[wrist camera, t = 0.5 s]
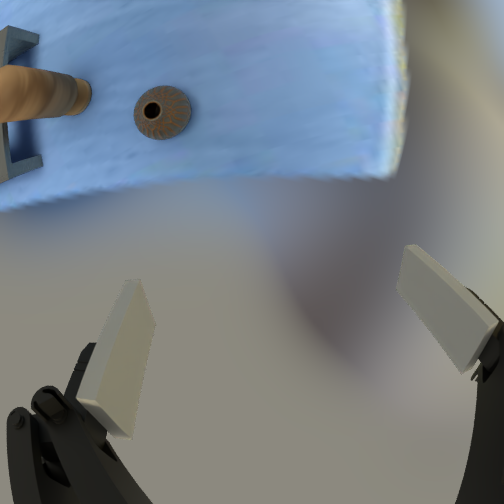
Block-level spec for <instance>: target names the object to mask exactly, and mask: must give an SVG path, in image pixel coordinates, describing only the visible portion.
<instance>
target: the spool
mask: <svg viewBox="0 0 504 504" xmlns="http://www.w3.org/2000/svg"><path fill="white" fill-rule="evenodd" d="M91 95H92V90H91V86H90V84H89V83H88V82H87V81H85V80H82V79H77V78H73V77H72V76H70V75H67V74H62V73H57V72H52V71H47V70H41V69H36V68H29V67H23V66H15V65H5V66H3V67H1V68H0V123H5V122H12V121H20V120H29V119H40V118H54V117H61V116H63V115H77V114H80V113H81V112H83V111H84V110H85V109H86V107H87V106H88V104H89V102H90V100H91Z"/></svg>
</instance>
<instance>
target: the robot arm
mask: <svg viewBox="0 0 504 504" xmlns="http://www.w3.org/2000/svg"><path fill="white" fill-rule="evenodd" d="M396 290H397V292H398V293H399V294H400V295H401V296H402V298H403V299H404V300H405V301H406V302H407V303H408V305H409V306H410V307H411V308H412V310H413V311H414V312H415V313H416V314H417V316H418V317H419V318H420V319H421V321H422V322H423V323H424V324H425V326H426V327H427V328H428V330H429V331H430V332H431V333H432V335H433V336H434V337H435V339H436V340H437V341H438V343H439V344H440V345H441V347H442V348H443V349H444V351H445V352H446V353H447V355H448V356H449V358H450V359H451V360H452V362H453V363H454V365H455V366H456V368H457V369H458V370H459V372H460V373H461V374H463V373H464V372H466V371H468V370H470V369H472V367H473V366H474V364H475V363H476V361H477V359H479V360H480V362H481V363H480V365H479V366H478V368H477V369H476V371H475V372H474V374H473V375H472V377H471V380H473V379H474V378H475V376H476V375H478V377H477V378H476V380H475V381H477V382H478V385H477V401H476V411H475V420H474V428H473V434H472V440H471V446H470V451H469V456H468V460H467V465H466V469H465V473H464V477H463V480H462V484H461V487H460V490H459V494H458V497H457V500H456V502H455V504H504V322H503V321H502V320H501V319H500V318H499V317H498V316H497V315H496V314H495V313H494V312H493V311H492V310H491V309H490V308H489V307H488V306H487V305H486V304H484V302H483V301H482V300H481V299H479V297H478V296H477V295H476V294H475V293H474V292H473V291H471V290H470V289H468V288H466V287H465V286H463V285H462V284H461V283H460V282H459V281H458V280H457V279H456V278H455V277H453V276H452V275H451V274H450V273H449V272H448V271H447V270H446V269H445V268H443V267H442V266H441V265H440V264H439V263H438V262H436V261H435V260H434V259H433V258H431V257H430V256H429V255H428V254H427V253H426V252H424V251H423V250H422V249H421V248H420V247H418V246H417V245H416V244H415V245H408V246H405V249H404V254H403V259H402V264H401V269H400V274H399V278H398V283H397V287H396ZM155 326H156V323H155V320H154V317H153V314H152V312H151V309H150V306H149V303H148V301H147V298H146V295H145V292H144V289H143V286H142V283H141V280H140V279H135V280H126V281H125V283H124V285H123V287H122V289H121V291H120V293H119V295H118V297H117V299H116V301H115V303H114V305H113V308H112V310H111V312H110V314H109V316H108V319H107V320H106V323H105V325H104V327H103V329H102V332H101V334H100V336H99V339H98V341H97V343H89V344H88V345H87V346H86V347H85V349H83V351H82V352H81V354H80V356H79V359H78V363H77V364H76V366H75V368H74V371H73V373H72V376H71V378H70V381H69V383H68V386H67V388H66V391H65V394H64V396H63V395H62V393H61V392H60V391H59V390H58V389H57V388H56V387H54V386H45V387H42V388H40V389H39V390H38V391H37V392H36V393H35V395H34V396H33V398H32V401H31V409H32V410H33V411H34V412H35V413H36V414H34V415H32V414H31V413H29V411H27V409H25V408H23V407H17V408H15V409H14V410H13V411H12V412H10V414H9V416H8V419H7V454H8V467H9V476H10V484H11V490H12V496H13V501H14V504H153V503H152V502H151V501H150V499H149V498H148V497H147V496H146V494H145V493H144V492H143V491H142V490H141V488H140V487H139V486H138V484H137V483H136V482H135V480H134V479H133V477H132V476H131V475H130V473H129V472H128V471H127V469H126V468H125V466H124V465H123V463H122V462H121V460H120V459H119V457H118V456H117V454H116V452H115V451H114V449H113V448H112V446H111V445H110V443H109V442H108V441H107V439H106V435H107V431H108V432H109V433H110V434H111V435H112V436H113V437H114V438H120V439H128V440H132V439H133V432H134V426H135V420H136V414H137V409H138V403H139V398H140V393H141V387H142V383H143V378H144V373H145V368H146V364H147V359H148V355H149V351H150V346H151V342H152V338H153V334H154V330H155Z"/></svg>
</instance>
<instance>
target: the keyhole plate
mask: <svg viewBox="0 0 504 504" xmlns="http://www.w3.org/2000/svg"><path fill="white" fill-rule="evenodd" d="M38 42H39V34H36V33H33V32H30V31H26V30H23V29H20V28H16V27H13V26H9V25H8V26H6V27H5V28H4V29H2V30H1V31H0V68H1V67H3V66H5V65H8V62H10V61H11V60H13V59H14V58H16V57H18V56H19V55H21V54H22V53H24V52H26V51H27V50H29V49H31V48H32V47H34V46H36V45H38ZM42 166H43V162H42V156H41V155H37V156H34V157H31V158H27V159H24V160H21V161H18V162H15V163H11V156H10V148H9V138H8V126H7V122H5V123H0V183H2V182H4V181H7V180H9V179H11V178H14V177H16V176H19V175H21V174H24V173H26V172H29V171H31V170H34V169H37V168H40V167H42Z"/></svg>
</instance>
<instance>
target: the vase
mask: <svg viewBox="0 0 504 504" xmlns="http://www.w3.org/2000/svg"><path fill="white" fill-rule="evenodd" d="M190 116H191V106H190V102H189V100H188V98H187V97H186V95H185V94H184V93H183V92H182V91H180V90H179V89H177V88H175V87H172V86H157V87H154V88H152V89H150V90H148V91H146V92H145V93H144V94H143V95H142V96H141V97H140V98H139V100H138V101H137V103H136V106H135V109H134V121H135V124H136V126H137V128H138V129H139V131H140V132H141V133H142V134H143V135H145V136H147V137H149V138H151V139H155V140H165V139H169V138H172V137H174V136H176V135H178V134H179V133H180V132H181V131H182V130H183V129H184V128H185V127H186V125H187V124H188V122H189V119H190Z"/></svg>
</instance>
